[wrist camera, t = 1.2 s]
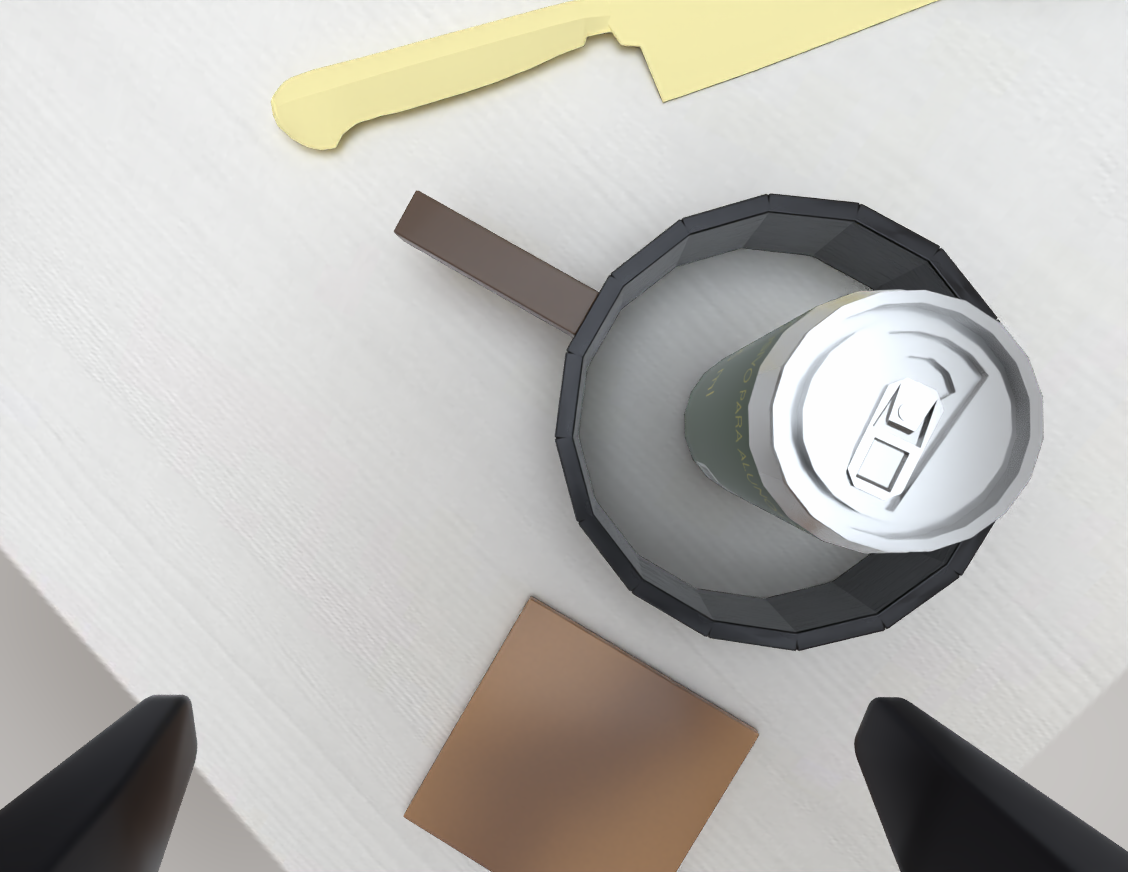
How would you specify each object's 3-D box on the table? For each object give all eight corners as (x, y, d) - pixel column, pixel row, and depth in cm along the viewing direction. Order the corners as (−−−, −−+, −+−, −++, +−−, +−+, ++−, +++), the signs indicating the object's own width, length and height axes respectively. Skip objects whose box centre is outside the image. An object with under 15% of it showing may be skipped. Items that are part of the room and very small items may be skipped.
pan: (1022, 352, 23) (1109, 337, 19) (822, 680, 24) (866, 732, 20) (524, 80, 24) (509, 11, 20) (346, 401, 25) (297, 396, 21)
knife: (1197, -58, 22) (1180, -200, 21) (293, 201, 24) (255, 77, 23) (1163, -35, 23) (1146, -169, 22) (307, 208, 25) (271, 91, 24)
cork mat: (757, 729, 24) (759, 735, 23) (625, 947, 24) (625, 956, 24) (531, 595, 24) (529, 598, 24) (406, 810, 25) (402, 817, 24)
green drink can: (787, 518, 24) (975, 614, 12) (657, 457, 24) (711, 489, 12) (850, 389, 23) (1109, 350, 11) (718, 329, 24) (836, 229, 12)
